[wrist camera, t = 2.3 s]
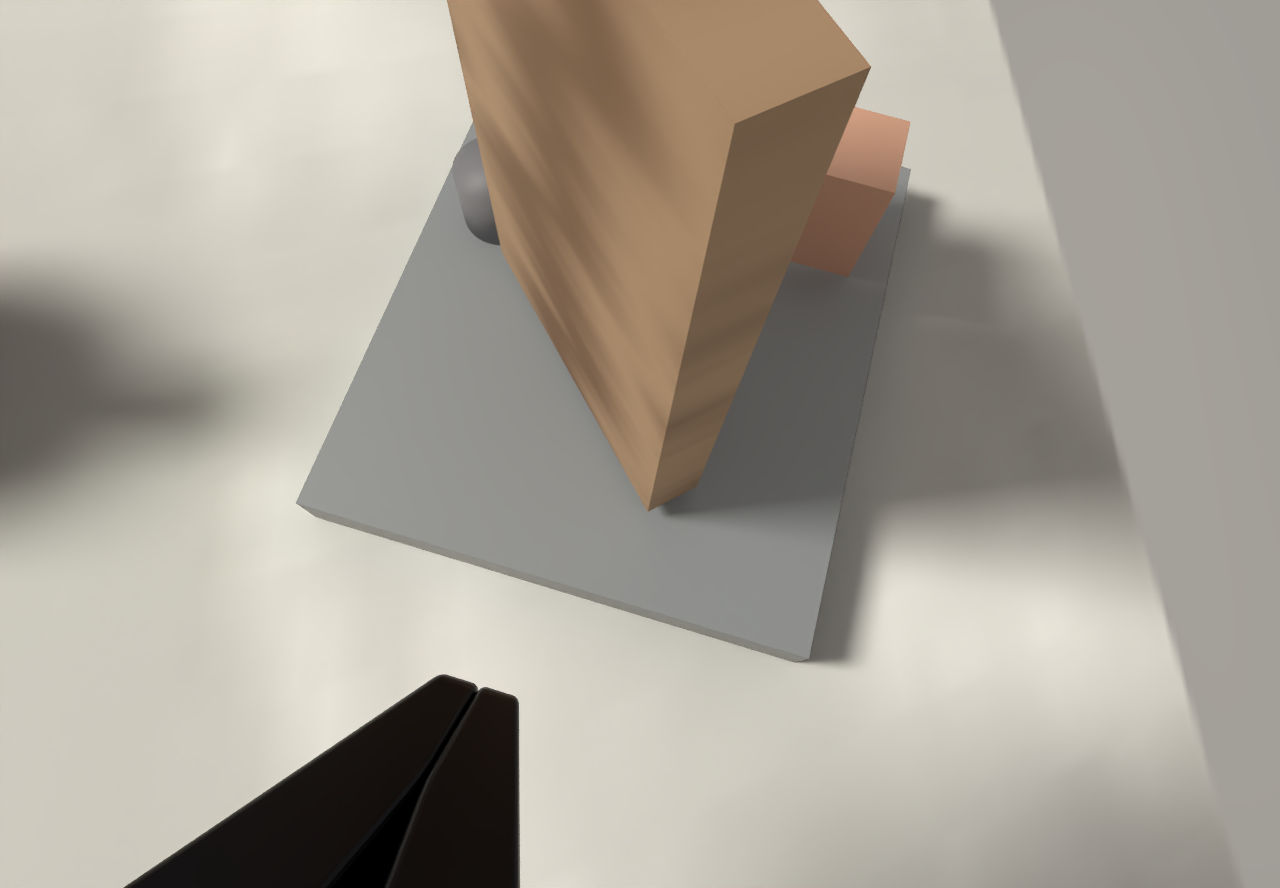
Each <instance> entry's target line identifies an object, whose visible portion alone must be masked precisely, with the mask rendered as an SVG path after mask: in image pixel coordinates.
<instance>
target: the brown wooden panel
mask: <svg viewBox="0 0 1280 888" xmlns="http://www.w3.org/2000/svg"><path fill="white" fill-rule="evenodd" d="M447 3H448V7H449V12H450V16H451V21H452V26H453V30H454V35H455V39H456V44H457V49H458V53H459V58H460V62H461V67H462V71H463V76H464V81H465V85H466V90H467V94H468V99H469V104H470V108H471V113H472V117H473V122H474V127H475V131H476V136H477V140H478V145H479V150H480V154H481V159H482V163H483V168H484V173H485V177H486V182H487V186H488V191H489V195H490V200H491V205H492V209H493V214H494V218H495V223H496V228H497V232H498V237H499V241H500V246H501V251H502V253H503V255H504V257H505V259H506V261H507V262H508V264H509V266H510V268H511V269H512V271H513V273H514V275H515V277H516V278H517V280H518V282H519V284H520V286H521V287H522V289H523V291H524V293H525V294H526V296H527V298H528V300H529V302H530V303H531V305H532V307H533V309H534V310H535V312H536V314H537V316H538V318H539V319H540V321H541V323H542V325H543V326H544V328H545V330H546V332H547V334H548V335H549V337H550V339H551V341H552V342H553V344H554V346H555V348H556V350H557V351H558V353H559V355H560V357H561V359H562V360H563V362H564V364H565V366H566V367H567V369H568V371H569V373H570V375H571V376H572V378H573V380H574V382H575V383H576V385H577V387H578V389H579V391H580V392H581V394H582V396H583V398H584V399H585V401H586V403H587V405H588V407H589V408H590V410H591V412H592V414H593V415H594V417H595V419H596V421H597V423H598V424H599V426H600V428H601V430H602V431H603V433H604V435H605V437H606V439H607V440H608V442H609V444H610V446H611V448H612V449H613V451H614V453H615V455H616V456H617V458H618V460H619V462H620V464H621V465H622V467H623V469H624V471H625V472H626V474H627V476H628V478H629V480H630V481H631V483H632V485H633V487H634V488H635V490H636V492H637V494H638V496H639V497H640V499H641V501H642V503H643V504H644V506H645V508H646V510H647V512H649V511H651V510H652V509H654V508H656V507H658V506H660V505H662V504H664V503H666V502H668V501H670V500H672V499H673V498H675V497H677V496H679V495H681V494H683V493H685V492H687V491H689V490H691V489H693V488H695V487H696V486H697V485H698V482H699V480H700V478H701V475H702V473H703V470H704V468H705V466H706V463H707V461H708V458H709V456H710V454H711V451H712V449H713V446H714V444H715V441H716V439H717V437H718V434H719V432H720V429H721V427H722V425H723V422H724V420H725V417H726V415H727V413H728V410H729V408H730V405H731V403H732V401H733V398H734V396H735V393H736V391H737V388H738V386H739V384H740V381H741V379H742V376H743V374H744V372H745V369H746V367H747V364H748V362H749V360H750V357H751V355H752V352H753V350H754V348H755V345H756V343H757V340H758V338H759V335H760V333H761V331H762V328H763V326H764V323H765V321H766V319H767V316H768V314H769V311H770V309H771V307H772V304H773V302H774V299H775V297H776V295H777V292H778V290H779V287H780V285H781V283H782V280H783V278H784V275H785V273H786V270H787V268H788V266H789V263H790V261H791V258H792V256H793V254H794V251H795V249H796V246H797V244H798V242H799V239H800V237H801V234H802V232H803V230H804V227H805V225H806V222H807V220H808V217H809V215H810V213H811V210H812V208H813V205H814V203H815V201H816V198H817V196H818V193H819V191H820V189H821V186H822V184H823V181H824V179H825V177H826V174H827V172H828V169H829V167H830V165H831V162H832V160H833V157H834V155H835V152H836V150H837V148H838V145H839V143H840V140H841V138H842V136H843V133H844V131H845V128H846V126H847V124H848V121H849V119H850V116H851V114H852V112H853V109H854V107H855V104H856V102H857V99H858V97H859V95H860V92H861V90H862V87H863V85H864V83H865V80H866V78H867V75H868V73H869V71H870V68H871V66H870V65H869V63H868V62H867V61H866V60H865V58H864V57H863V56H862V55H861V54H860V52H859V51H858V50H857V49H856V47H855V46H854V45H853V44H852V42H851V41H850V40H849V39H848V37H847V36H846V35H845V34H844V32H843V31H842V30H841V29H840V27H839V26H838V25H837V24H836V22H835V21H834V20H833V19H832V17H831V16H830V15H829V14H828V12H827V11H826V10H825V9H824V7H823V6H822V5H821V4H820V2H819V1H818V0H447Z"/></svg>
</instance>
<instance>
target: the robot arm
mask: <svg viewBox="0 0 1280 888" xmlns="http://www.w3.org/2000/svg"><path fill="white" fill-rule="evenodd" d="M124 888H520V824H519V702H518V699H517V698H516V697H515V696H513V695H510V694H506V693H503V692H500V691H497V690H494V689H490V688H487V687H484V688H481V689H480V690H479V691H478V688H477V686H476V685H475V684H474V683H471V682H468V681H465V680H462V679H458V678H455V677H452V676H449V675H444V674H443V675H439V676H436V677H434V678H433V679H431V680H430V681H428V682H427V683H426V684H424V685H423V686H421V687H420V688H418V689H417V690H415V691H414V692H412V693H411V694H409V695H408V696H406V697H405V698H403V699H402V700H400V701H399V702H397V703H396V704H394V705H393V706H391V707H390V708H389V709H387V710H386V711H384V712H383V713H381V714H380V715H378V716H377V717H375V718H374V719H372V720H371V721H369V722H368V723H366V724H365V725H363V726H362V727H360V728H359V729H357V730H356V731H354V732H353V733H352V734H350V735H349V736H347V737H346V738H344V739H343V740H341V741H340V742H338V743H337V744H335V745H334V746H332V747H331V748H329V749H328V750H326V751H325V752H323V753H322V754H320V755H319V756H318V757H316V758H315V759H313V760H312V761H310V762H309V763H307V764H306V765H304V766H303V767H301V768H300V769H298V770H297V771H295V772H294V773H292V774H291V775H289V776H288V777H286V778H285V779H283V780H282V781H281V782H279V783H278V784H276V785H275V786H273V787H272V788H270V789H269V790H267V791H266V792H264V793H263V794H261V795H260V796H258V797H257V798H255V799H254V800H252V801H251V802H249V803H248V804H246V805H245V806H244V807H242V808H241V809H239V810H238V811H236V812H235V813H233V814H232V815H230V816H229V817H227V818H226V819H224V820H223V821H221V822H220V823H218V824H217V825H215V826H214V827H212V828H211V829H209V830H208V831H207V832H205V833H204V834H202V835H201V836H199V837H198V838H196V839H195V840H193V841H192V842H190V843H189V844H187V845H186V846H184V847H183V848H181V849H180V850H178V851H177V852H175V853H174V854H173V855H171V856H170V857H168V858H167V859H165V860H164V861H162V862H161V863H159V864H158V865H156V866H155V867H153V868H152V869H150V870H149V871H147V872H146V873H144V874H143V875H141V876H140V877H138V878H137V879H136V880H134V881H133V882H131V883H130V884H128V885H127V886H125V887H124Z"/></svg>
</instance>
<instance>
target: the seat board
mask: <svg viewBox="0 0 1280 888" xmlns="http://www.w3.org/2000/svg"><path fill="white" fill-rule="evenodd" d="M909 126H910V122H909V121H905V120H902V119H898V118H894V117H890V116H886V115H883V114H879V113H875V112H871V111H867V110H864V109H860V108H856V107H854V109H853V112H852V114H851V116H850V119H849V121H848V124H847V126H846V128H845V131H844V133H843V136H842V138H841V140H840V143H839V145H838V148H837V150H836V152H835V155H834V157H833V160H832V162H831V165H830V167H829V169H828V172H827V174H826V177H825V179H824V181H823V184H822V186H821V189H820V191H819V193H818V196H817V198H816V201H815V203H814V205H813V208H812V210H811V213H810V215H809V217H808V220H807V222H806V225H805V227H804V230H803V232H802V234H801V237H800V239H799V242H798V244H797V246H796V249H795V251H794V254H793V256H792V258H791V261H790V263H789V266H788V268H787V270H786V273H785V275H784V278H783V280H782V283H781V285H780V287H779V290H778V292H777V295H776V297H775V299H774V302H773V304H772V307H771V309H770V311H769V314H768V316H767V319H766V321H765V323H764V326H763V328H762V331H761V333H760V335H759V338H758V340H757V343H756V345H755V348H754V350H753V352H752V355H751V357H750V360H749V362H748V364H747V367H746V369H745V372H744V374H743V376H742V379H741V381H740V384H739V386H738V388H737V391H736V393H735V396H734V398H733V401H732V403H731V405H730V408H729V410H728V413H727V415H726V417H725V420H724V422H723V425H722V427H721V429H720V432H719V434H718V437H717V439H716V441H715V444H714V446H713V449H712V451H711V454H710V456H709V458H708V461H707V463H706V466H705V468H704V470H703V473H702V475H701V478H700V480H699V482H698V485H697V486H696V487H695V488H693V489H691V490H689V491H687V492H685V493H683V494H681V495H679V496H677V497H675V498H673V499H672V500H670V501H668V502H666V503H664V504H662V505H660V506H658V507H656V508H654V509H652V510H651V511H649V512H647V510H646V508H645V506H644V504H643V503H642V501H641V499H640V497H639V496H638V494H637V492H636V490H635V488H634V487H633V485H632V483H631V481H630V480H629V478H628V476H627V474H626V472H625V471H624V469H623V467H622V465H621V464H620V462H619V460H618V458H617V456H616V455H615V453H614V451H613V449H612V448H611V446H610V444H609V442H608V440H607V439H606V437H605V435H604V433H603V431H602V430H601V428H600V426H599V424H598V423H597V421H596V419H595V417H594V415H593V414H592V412H591V410H590V408H589V407H588V405H587V403H586V401H585V399H584V398H583V396H582V394H581V392H580V391H579V389H578V387H577V385H576V383H575V382H574V380H573V378H572V376H571V375H570V373H569V371H568V369H567V367H566V366H565V364H564V362H563V360H562V359H561V357H560V355H559V353H558V351H557V350H556V348H555V346H554V344H553V342H552V341H551V339H550V337H549V335H548V334H547V332H546V330H545V328H544V326H543V325H542V323H541V321H540V319H539V318H538V316H537V314H536V312H535V310H534V309H533V307H532V305H531V303H530V302H529V300H528V298H527V296H526V294H525V293H524V291H523V289H522V287H521V286H520V284H519V282H518V280H517V278H516V277H515V275H514V273H513V271H512V269H511V268H510V266H509V264H508V262H507V261H506V259H505V257H504V255H503V253H502V251H501V246H500V241H499V237H498V232H497V228H496V223H495V218H494V214H493V209H492V205H491V200H490V195H489V191H488V186H487V182H486V177H485V173H484V168H483V163H482V159H481V154H480V150H479V145H478V140H477V136H476V131H475V127H474V122H473V123H472V125H471V127H470V129H469V131H468V134H467V136H466V138H465V140H464V142H463V144H462V147H461V149H460V151H459V152H458V153H457V155H456V157H455V159H454V162H453V166H452V168H451V170H450V172H449V175H448V177H447V179H446V181H445V183H444V185H443V187H442V190H441V192H440V194H439V196H438V198H437V200H436V202H435V205H434V207H433V209H432V211H431V213H430V215H429V218H428V220H427V222H426V224H425V226H424V228H423V230H422V233H421V235H420V237H419V239H418V241H417V243H416V245H415V248H414V250H413V252H412V254H411V256H410V258H409V261H408V263H407V265H406V267H405V269H404V271H403V273H402V276H401V278H400V280H399V282H398V284H397V286H396V289H395V291H394V293H393V295H392V297H391V299H390V301H389V304H388V306H387V308H386V310H385V312H384V314H383V316H382V319H381V321H380V323H379V325H378V327H377V329H376V332H375V334H374V336H373V338H372V340H371V342H370V344H369V347H368V349H367V351H366V353H365V355H364V357H363V360H362V362H361V364H360V366H359V368H358V370H357V372H356V375H355V377H354V379H353V381H352V383H351V385H350V387H349V390H348V392H347V394H346V396H345V398H344V400H343V403H342V405H341V407H340V409H339V411H338V413H337V415H336V418H335V420H334V422H333V424H332V426H331V428H330V431H329V433H328V435H327V437H326V439H325V441H324V443H323V446H322V448H321V450H320V452H319V454H318V456H317V458H316V461H315V463H314V465H313V467H312V469H311V471H310V474H309V476H308V478H307V480H306V482H305V484H304V486H303V489H302V491H301V493H300V495H299V497H298V499H297V501H296V504H298V505H299V506H301V507H302V508H304V509H305V510H307V511H308V512H309V513H311V514H312V515H314V516H315V517H318V518H321V519H325V520H328V521H331V522H334V523H338V524H341V525H344V526H348V527H351V528H354V529H357V530H361V531H364V532H367V533H371V534H374V535H377V536H380V537H384V538H387V539H390V540H394V541H397V542H400V543H404V544H407V545H410V546H413V547H417V548H420V549H423V550H427V551H430V552H433V553H436V554H440V555H443V556H446V557H450V558H453V559H456V560H459V561H463V562H466V563H469V564H473V565H476V566H479V567H483V568H486V569H489V570H492V571H496V572H499V573H502V574H506V575H509V576H512V577H515V578H519V579H522V580H525V581H529V582H532V583H535V584H539V585H542V586H545V587H548V588H552V589H555V590H558V591H562V592H565V593H568V594H571V595H575V596H578V597H581V598H585V599H588V600H591V601H594V602H598V603H601V604H604V605H608V606H611V607H614V608H618V609H621V610H624V611H627V612H631V613H634V614H637V615H641V616H644V617H647V618H650V619H654V620H657V621H660V622H664V623H667V624H670V625H673V626H677V627H680V628H683V629H687V630H690V631H693V632H697V633H700V634H703V635H706V636H710V637H713V638H716V639H720V640H723V641H726V642H729V643H733V644H736V645H739V646H743V647H746V648H749V649H752V650H756V651H759V652H762V653H766V654H769V655H772V656H776V657H779V658H782V659H785V660H789V661H792V662H798V661H802V660H806V659H809V656H810V651H811V647H812V642H813V637H814V632H815V627H816V623H817V618H818V613H819V608H820V603H821V598H822V594H823V589H824V584H825V579H826V574H827V570H828V565H829V560H830V555H831V550H832V546H833V541H834V536H835V531H836V526H837V522H838V517H839V512H840V507H841V502H842V498H843V493H844V488H845V483H846V478H847V474H848V469H849V464H850V459H851V454H852V450H853V445H854V440H855V435H856V430H857V426H858V421H859V416H860V411H861V406H862V402H863V397H864V392H865V387H866V382H867V378H868V373H869V368H870V363H871V358H872V353H873V349H874V344H875V339H876V334H877V329H878V325H879V320H880V315H881V310H882V305H883V301H884V296H885V291H886V286H887V281H888V277H889V272H890V267H891V262H892V257H893V253H894V248H895V243H896V238H897V233H898V229H899V224H900V219H901V214H902V209H903V205H904V200H905V195H906V190H907V185H908V181H909V176H910V171H911V169H908V168H905V167H901V164H902V159H903V154H904V150H905V145H906V140H907V136H908V131H909Z"/></svg>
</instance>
